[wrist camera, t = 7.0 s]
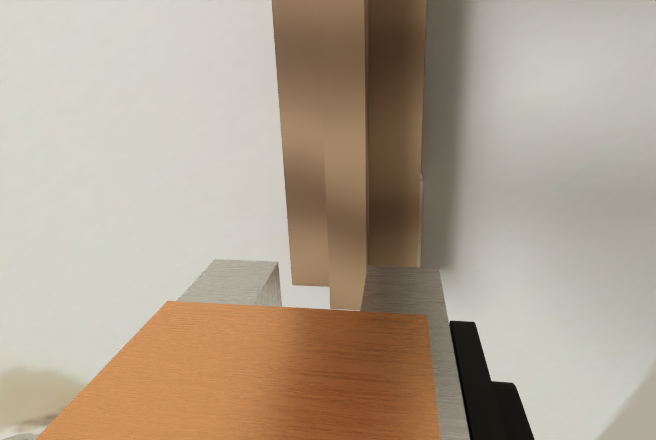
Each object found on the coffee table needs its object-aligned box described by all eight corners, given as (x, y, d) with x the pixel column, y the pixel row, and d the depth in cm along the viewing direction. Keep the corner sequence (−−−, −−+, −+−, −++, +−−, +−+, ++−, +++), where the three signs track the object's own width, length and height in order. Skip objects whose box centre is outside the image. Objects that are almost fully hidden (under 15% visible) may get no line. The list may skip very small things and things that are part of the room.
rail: (417, 271, 22) (431, 421, 13) (300, 267, 23) (235, 404, 14) (436, -232, 15) (492, -672, 6) (270, -209, 16) (103, -559, 7)
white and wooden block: (430, 393, 12) (477, 896, 5) (231, 377, 13) (19, 779, 6) (440, 242, 11) (530, 657, 3) (211, 235, 12) (-117, 546, 4)
